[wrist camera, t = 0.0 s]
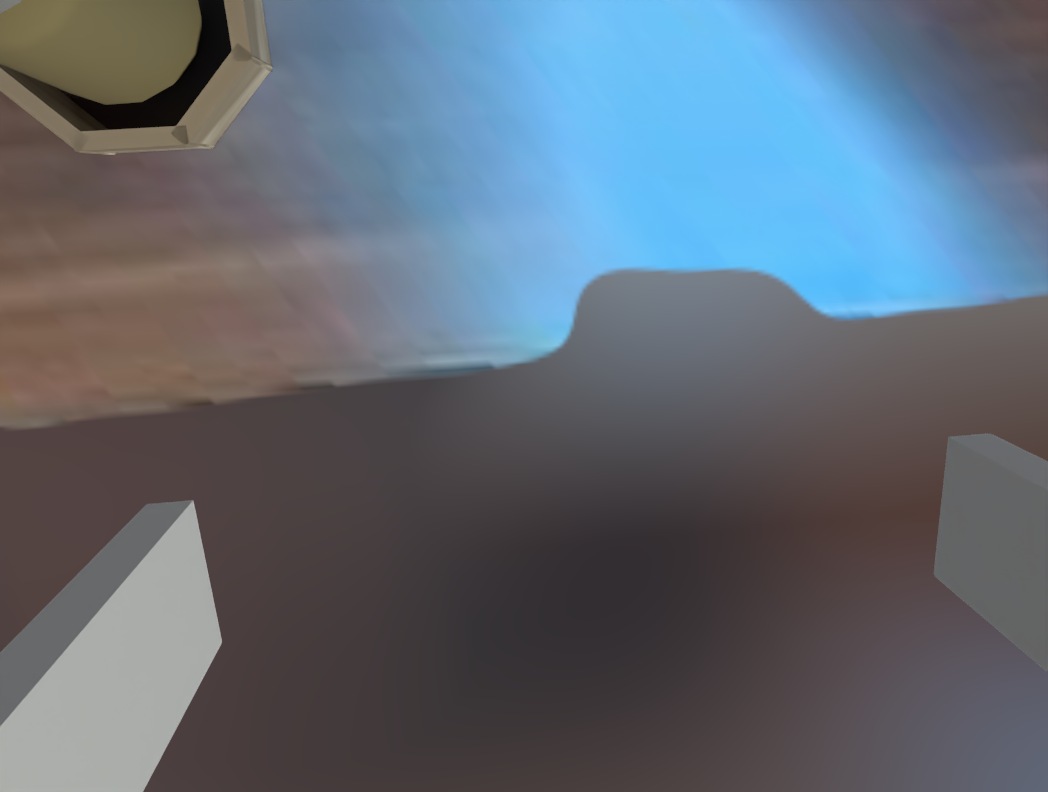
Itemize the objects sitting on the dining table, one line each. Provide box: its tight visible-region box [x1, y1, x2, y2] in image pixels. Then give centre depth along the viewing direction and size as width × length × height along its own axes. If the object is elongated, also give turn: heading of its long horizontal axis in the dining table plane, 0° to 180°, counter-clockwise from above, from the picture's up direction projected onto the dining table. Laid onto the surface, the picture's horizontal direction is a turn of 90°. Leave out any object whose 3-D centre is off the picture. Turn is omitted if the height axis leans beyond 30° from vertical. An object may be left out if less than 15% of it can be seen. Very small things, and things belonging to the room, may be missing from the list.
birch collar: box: [0, 0, 273, 155], centre depth 33 cm, size 12×12×4 cm
